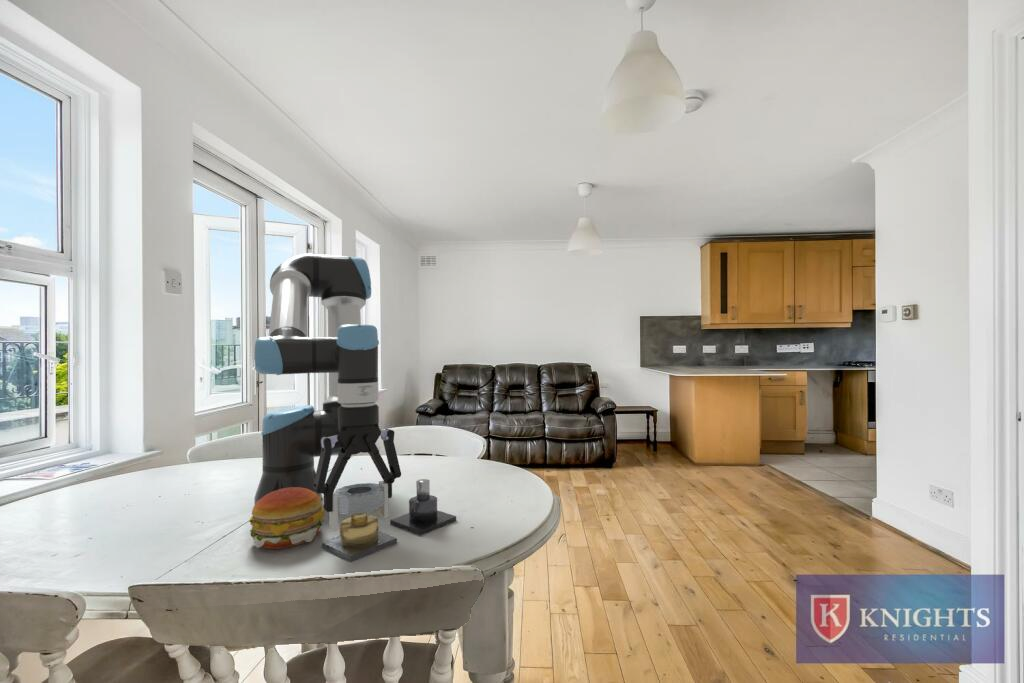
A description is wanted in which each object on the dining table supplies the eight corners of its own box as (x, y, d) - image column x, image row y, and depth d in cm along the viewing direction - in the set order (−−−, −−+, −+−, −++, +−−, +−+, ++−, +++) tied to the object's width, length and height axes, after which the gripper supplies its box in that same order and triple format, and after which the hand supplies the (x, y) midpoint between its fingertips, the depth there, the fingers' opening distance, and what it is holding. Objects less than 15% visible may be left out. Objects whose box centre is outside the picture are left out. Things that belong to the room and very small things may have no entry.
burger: (297, 522, 101) (297, 476, 101) (339, 534, 94) (338, 485, 94) (235, 545, 89) (234, 493, 89) (277, 561, 82) (276, 505, 83)
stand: (390, 524, 99) (389, 482, 99) (425, 511, 107) (425, 472, 107) (420, 535, 92) (420, 491, 93) (456, 520, 100) (455, 479, 100)
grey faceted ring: (328, 505, 89) (327, 489, 89) (373, 495, 95) (372, 480, 95) (343, 517, 82) (343, 501, 82) (391, 506, 88) (391, 490, 88)
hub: (321, 547, 88) (321, 510, 88) (367, 530, 95) (366, 496, 96) (350, 562, 81) (350, 522, 82) (397, 543, 89) (396, 506, 89)
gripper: (303, 411, 79) (304, 543, 79) (418, 401, 93) (419, 513, 92) (292, 407, 85) (293, 530, 85) (402, 398, 99) (403, 504, 98)
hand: (359, 521), depth 88 cm, fingers closed on grey faceted ring, 9 cm apart
